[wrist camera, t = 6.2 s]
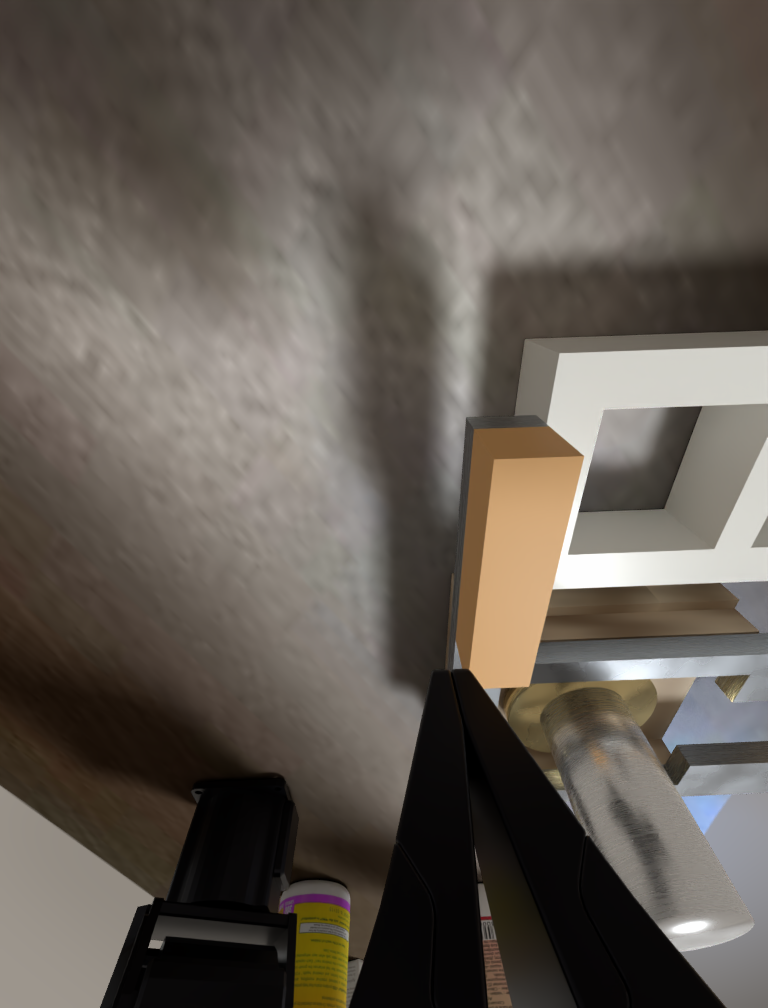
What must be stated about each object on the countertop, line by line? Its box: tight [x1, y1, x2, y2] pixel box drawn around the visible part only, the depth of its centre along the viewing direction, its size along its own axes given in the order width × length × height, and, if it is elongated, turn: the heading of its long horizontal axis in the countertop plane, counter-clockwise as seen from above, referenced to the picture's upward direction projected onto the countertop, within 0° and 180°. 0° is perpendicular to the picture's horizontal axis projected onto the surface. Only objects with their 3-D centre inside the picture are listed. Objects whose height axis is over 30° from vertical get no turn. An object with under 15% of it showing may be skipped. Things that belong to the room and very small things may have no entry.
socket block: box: [445, 573, 759, 769], centre depth 21 cm, size 12×12×4 cm
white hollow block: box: [514, 330, 768, 589], centre depth 15 cm, size 16×9×3 cm, turn 92°
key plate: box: [447, 415, 768, 802], centre depth 15 cm, size 18×20×3 cm
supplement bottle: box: [279, 880, 350, 1008], centre depth 33 cm, size 7×7×13 cm
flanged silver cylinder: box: [503, 679, 754, 952], centre depth 18 cm, size 7×7×11 cm
